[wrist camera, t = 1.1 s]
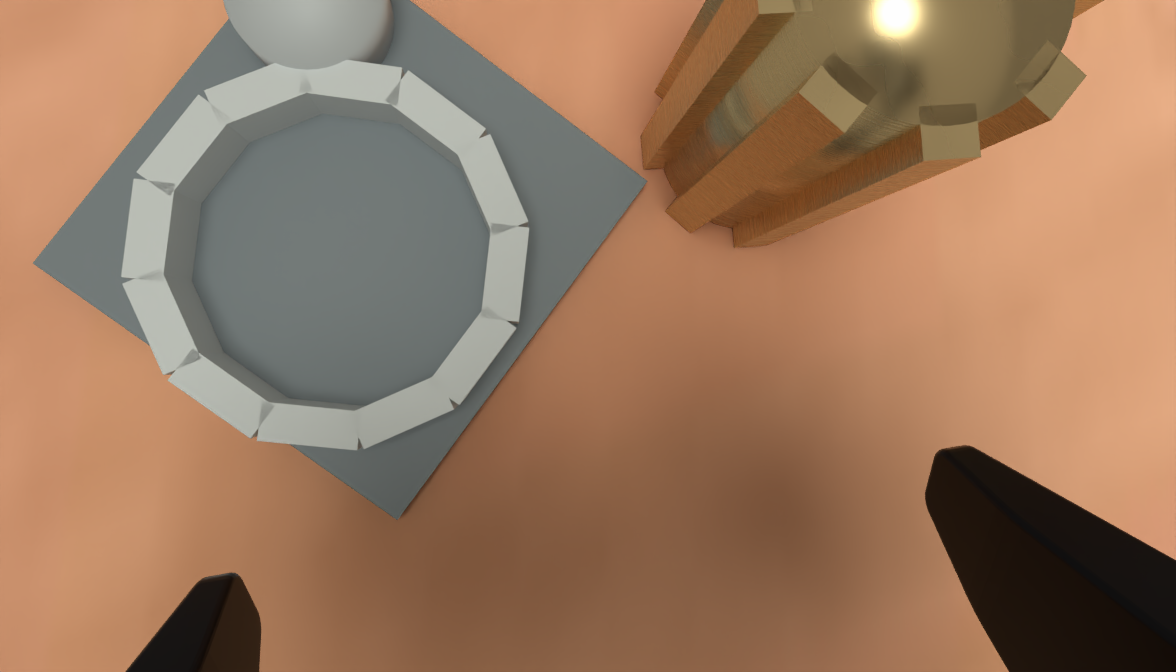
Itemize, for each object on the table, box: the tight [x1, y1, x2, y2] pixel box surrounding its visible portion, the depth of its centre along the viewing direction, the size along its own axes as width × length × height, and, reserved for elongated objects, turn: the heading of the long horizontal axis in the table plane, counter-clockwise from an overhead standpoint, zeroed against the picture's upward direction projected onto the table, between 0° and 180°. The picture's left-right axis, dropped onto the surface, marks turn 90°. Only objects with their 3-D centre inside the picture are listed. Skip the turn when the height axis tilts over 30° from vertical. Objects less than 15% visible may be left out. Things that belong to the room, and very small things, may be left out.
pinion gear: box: [641, 0, 1104, 248], centre depth 19 cm, size 6×6×11 cm
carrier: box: [33, 0, 647, 520], centre depth 22 cm, size 12×12×3 cm
